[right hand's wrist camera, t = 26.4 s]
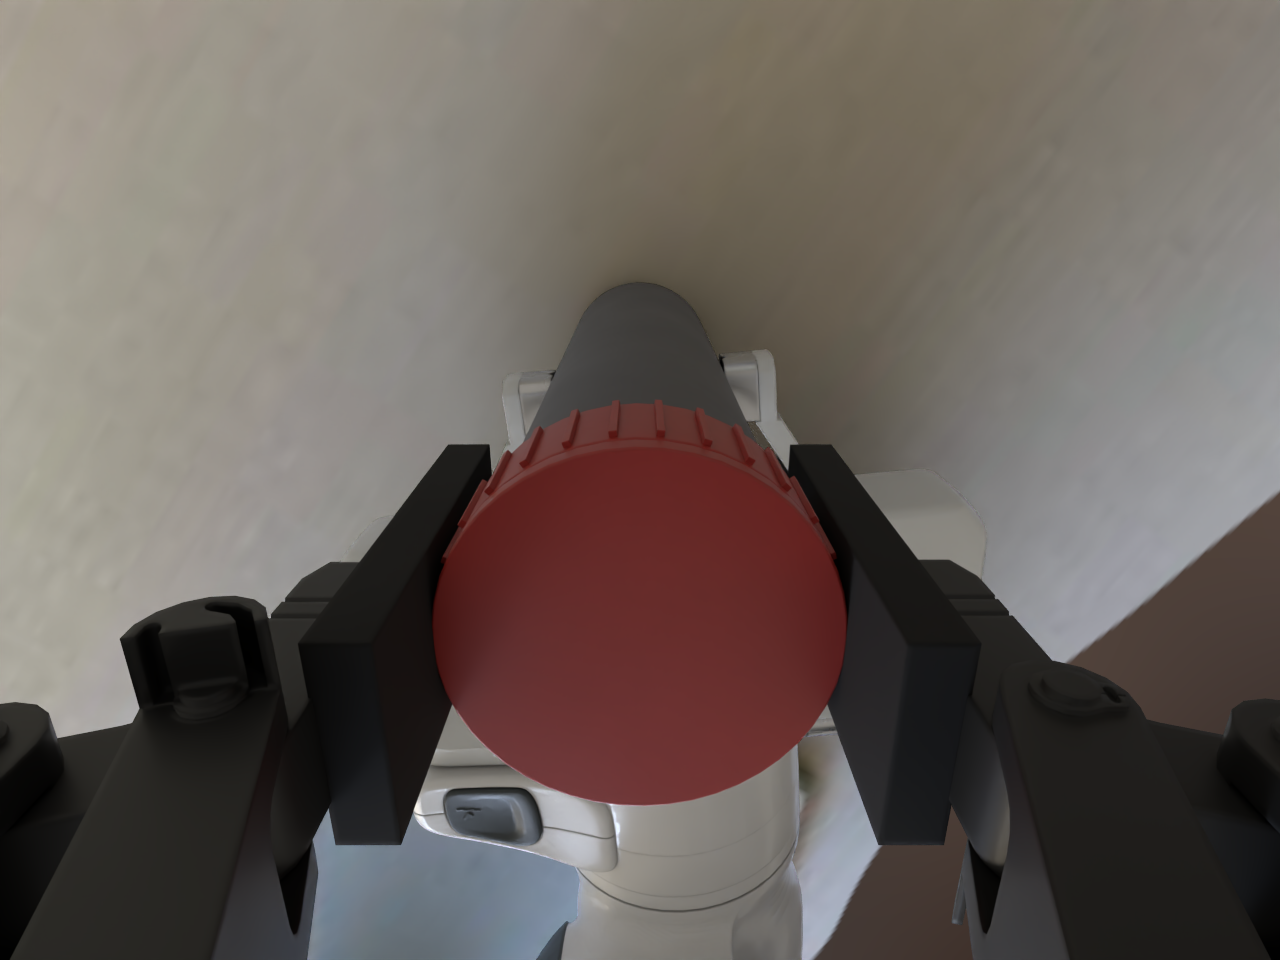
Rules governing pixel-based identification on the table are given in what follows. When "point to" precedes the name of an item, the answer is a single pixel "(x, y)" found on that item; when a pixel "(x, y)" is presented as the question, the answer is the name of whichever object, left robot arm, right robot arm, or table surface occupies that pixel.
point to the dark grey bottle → (639, 359)
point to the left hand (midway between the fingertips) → (635, 364)
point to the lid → (639, 608)
